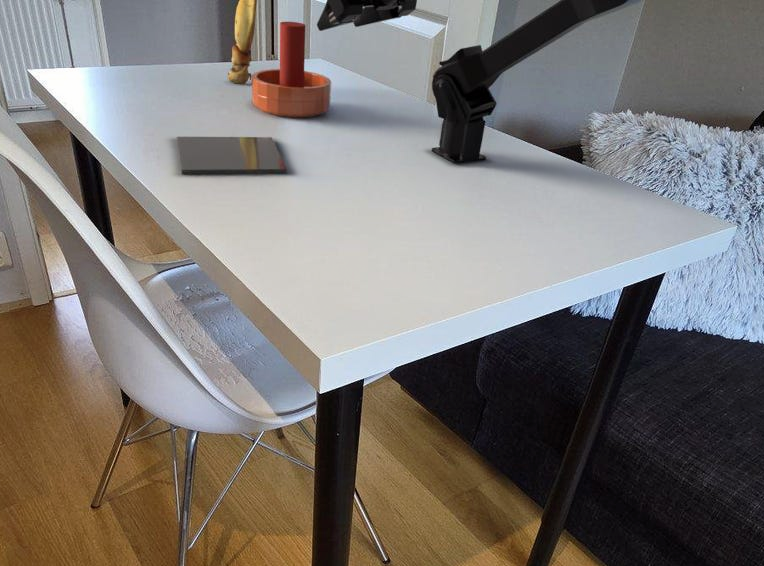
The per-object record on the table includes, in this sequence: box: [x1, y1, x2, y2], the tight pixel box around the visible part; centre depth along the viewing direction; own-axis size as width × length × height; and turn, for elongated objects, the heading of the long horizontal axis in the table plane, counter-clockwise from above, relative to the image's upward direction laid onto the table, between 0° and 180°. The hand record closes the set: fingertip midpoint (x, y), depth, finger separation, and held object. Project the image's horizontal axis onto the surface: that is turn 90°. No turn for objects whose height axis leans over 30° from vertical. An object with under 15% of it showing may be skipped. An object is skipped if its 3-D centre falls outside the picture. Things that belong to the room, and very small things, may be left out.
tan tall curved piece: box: [227, 0, 258, 85], centre depth 123 cm, size 7×5×20 cm
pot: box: [251, 68, 332, 118], centre depth 117 cm, size 14×14×5 cm
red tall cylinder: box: [279, 21, 306, 87], centre depth 114 cm, size 4×4×13 cm
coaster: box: [176, 136, 288, 175], centre depth 95 cm, size 14×14×1 cm
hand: (337, 25), depth 108 cm, fingers open, 9 cm apart
